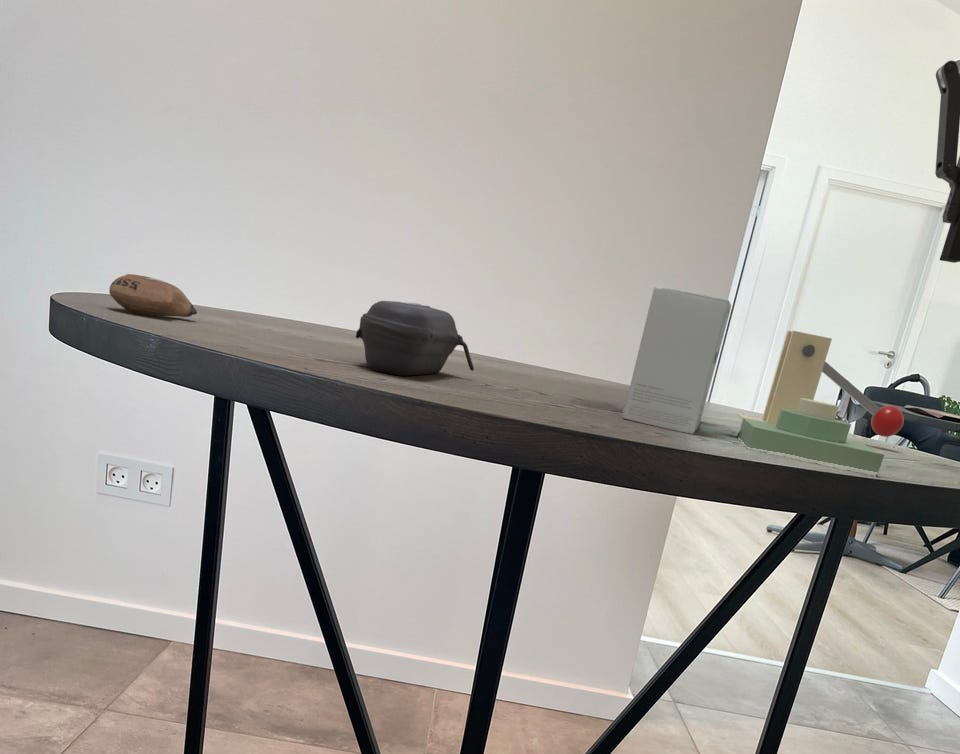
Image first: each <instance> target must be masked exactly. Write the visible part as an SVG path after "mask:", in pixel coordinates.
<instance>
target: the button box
mask: <svg viewBox="0 0 960 754" xmlns="http://www.w3.org/2000/svg"><path fill="white" fill-rule="evenodd" d="M851 426H852V424H851V423H849V422H847V421H843V420H839V419H836V418H835V421H832V420H826V419H821V418H817V417H812V416H808V415H804V414H800V413H797V411H794V410H789V409H780V413H779V416H778V420H777V423H776V424H771V423H766V422H761V421H757V420H752V419H747V418H743V420H741V424H740V428H739V432H738V435H737V438H738V437H739V438H740V439H741V440H742V442H744V444H745V445H746V446H747V447H750V448H756V449H763V450H767V451H773V452H780V453H785V454H790V455H795V456H799V457H803V458H807V459H812V460H817V461H823V462H828V463H834V464H838V465H843V466H849V467H854V468H858V469H863V470H868V471H873V472H878V473H879V471H880V469H881V466H882V464H883V463H882V462H883V460H884V457H885V454H884V453H883V452H881V451H879V450H876V449H874V448H872V447H870V446H869V445H867V444H865V443H862V442H861V441H855V440H851V439H848V436H849V433H850V429H851Z"/></svg>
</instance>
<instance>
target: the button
mask: <svg viewBox="0 0 960 754" xmlns="http://www.w3.org/2000/svg"><path fill="white" fill-rule="evenodd" d="M839 408H840V406H839V405H837V404H832V403H828V402H824V401H819V400H815V399H814V400H810V399H805V398H801V399H800V403H799V406H798V410H797V413H800V414H804V415H808V416H812V417H817V418H821V419H826V420H832V421H835V419H836V417H837V415H838V411H839Z"/></svg>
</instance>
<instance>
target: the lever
mask: <svg viewBox="0 0 960 754" xmlns="http://www.w3.org/2000/svg"><path fill="white" fill-rule="evenodd" d="M822 374H824V375H825V376H826V377H827V378H828V379H830V380H831V381H832V382H833V383H834V384H835V385H837V386H838V387H839V388H840V389H841V390H843V391H844V392H845V394H847V395H849V397H851V398H852V399H853V400H855V402H856V403H858V404H859V405H860V406H861V407H863V409H865V410H866V411H867V412H868V413H869V414H871V415H872V416H871V419H870V425H871V429H872V431H873V432H874V433H875V434H877V435H878V436H880V437H884V438H885V437H886V438H887V437H888V438H889V437H892V436H894V435H897V434H898V433H900V431H901V430H902V428H903V427H904V422H905V417H904V414H903V412H902V410H901V409H900V408H898V407H897V406H895V405H883V406H880V407H879V406H878V405H877V404H876V403H874V402H873V401H872V400H871V399H870V398H869V397H868V396H867V395H865V393H863V392H862V391H861V390H859V389H858V388H857V387H856V386H855V385H853V383H852V382H850V381H849V380H848V379H847V378H846V377H844V376H843V375H842V374H841V373H840V372H838V371H837V370H836V369H835V368H834V367H833V366H832V365H830V364H829V363H828V362H827V361H825V363H824V367H823V370H822Z"/></svg>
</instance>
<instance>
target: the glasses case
mask: <svg viewBox="0 0 960 754" xmlns="http://www.w3.org/2000/svg"><path fill="white" fill-rule="evenodd" d="M355 338H356V339H361V340H362V342H363V347H364V357H365V362H366V364H367V365H366V366H368V368H369V369H370V370H373V371H376V372H379V373H384V374H389V375H395V376H399V377H402V376H403V377H406V376H420V375H421V376H422V375H432V374H438V373H439V372H440V371H442V369H443V368H444V366H445V364H446V362H447V360H448V358H449V357H450V355H451V354H452V353H453V352H454V351H455V349H456V347H458V346H462V348H463V351H464V355H465V358H466V361H467V364H468V367H469V370H470V371H472V372H474V370H475V368H474V364H473V360H472V357H471V355H470V350H469V346H468V344H467V343H466V342H465V340H464V338H463V336H462V335H460V334H459V333H458V329H457V326H456V321H455V319H454V317H453V316H452V314H451V313H449V312H448V311H445V310H441V309H438V308H435V307H431V306H429V305H427V304H425V303H417V302H409V301H393V300H379V301H377V302H375V303H373V304H372V305H371V306H370V308H369V309H368V311H367V312H366V313H363V314H362V316H361V317H360V319H359V328H358V329H357V330H356V334H355Z"/></svg>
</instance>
